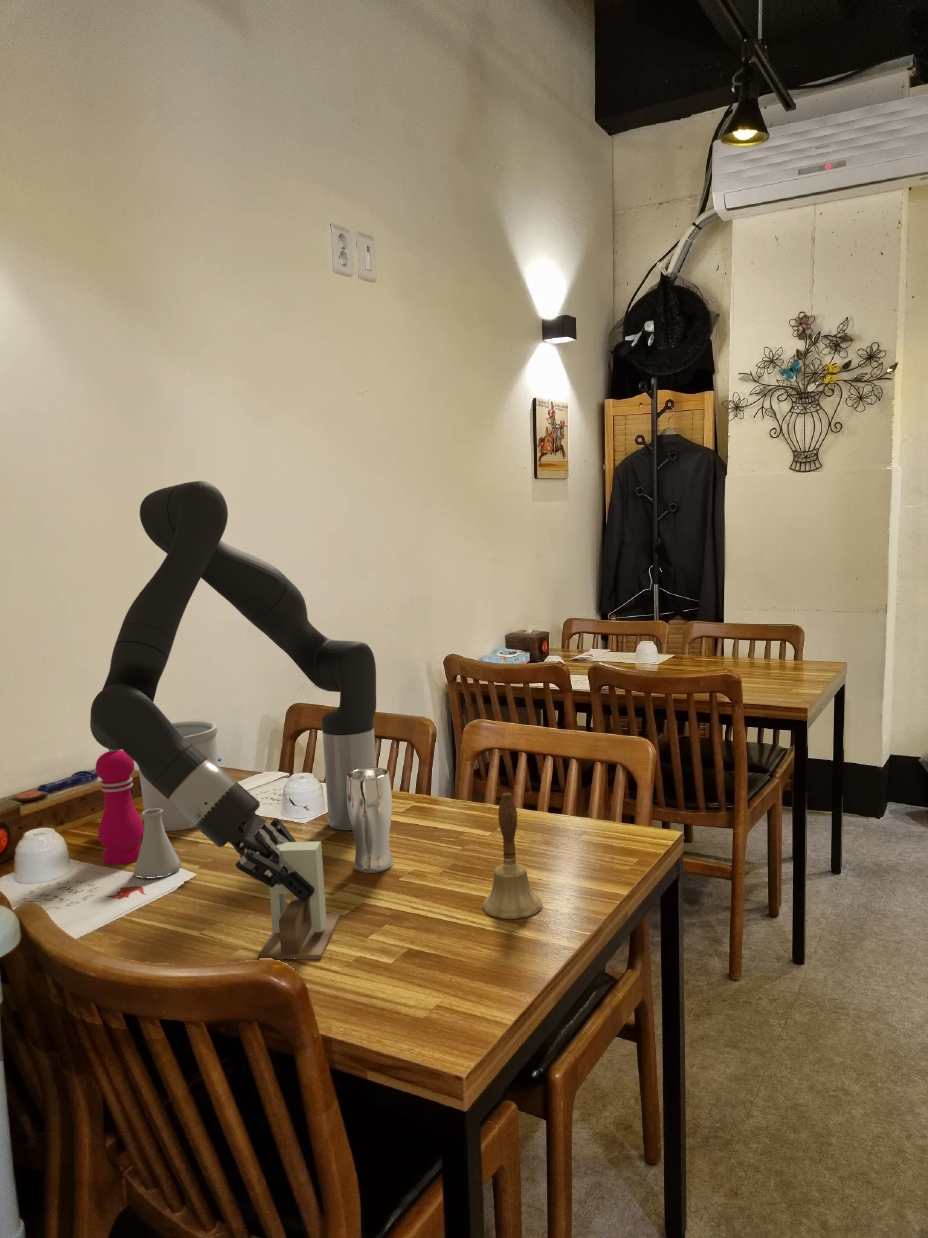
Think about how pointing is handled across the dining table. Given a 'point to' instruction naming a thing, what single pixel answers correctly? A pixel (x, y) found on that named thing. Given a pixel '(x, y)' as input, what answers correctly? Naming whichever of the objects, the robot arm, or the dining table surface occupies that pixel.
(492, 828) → the dining table surface
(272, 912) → the pale slotted block
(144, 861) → the flask
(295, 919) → the walnut rail
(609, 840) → the dining table surface
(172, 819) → the utensil holder
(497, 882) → the hand bell
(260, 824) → the robot arm
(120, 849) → the pepper mill
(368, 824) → the beer glass
